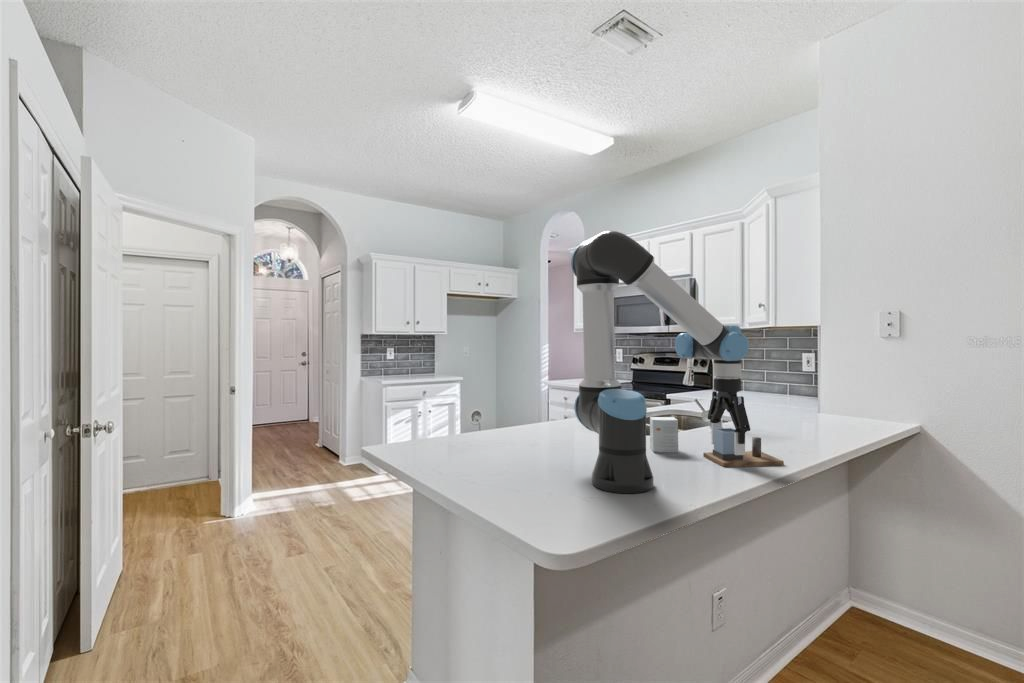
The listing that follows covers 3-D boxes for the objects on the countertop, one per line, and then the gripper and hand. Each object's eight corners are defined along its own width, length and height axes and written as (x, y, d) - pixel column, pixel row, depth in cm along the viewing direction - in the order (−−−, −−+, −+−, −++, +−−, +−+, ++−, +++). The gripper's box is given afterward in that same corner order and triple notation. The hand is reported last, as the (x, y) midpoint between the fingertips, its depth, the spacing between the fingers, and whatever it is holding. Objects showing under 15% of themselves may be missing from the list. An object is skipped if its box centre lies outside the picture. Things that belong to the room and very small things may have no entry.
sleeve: (743, 459, 143) (743, 432, 143) (722, 460, 143) (722, 432, 143) (732, 454, 149) (732, 427, 149) (712, 454, 149) (712, 428, 149)
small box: (674, 448, 163) (674, 416, 162) (678, 452, 157) (678, 419, 157) (649, 448, 163) (649, 416, 163) (652, 452, 158) (652, 419, 158)
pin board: (722, 466, 140) (722, 443, 140) (703, 456, 152) (703, 434, 152) (783, 465, 141) (783, 441, 141) (759, 454, 153) (759, 433, 153)
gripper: (764, 381, 134) (764, 459, 134) (718, 374, 159) (719, 439, 159) (737, 381, 133) (737, 460, 133) (696, 374, 158) (696, 440, 158)
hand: (727, 449), depth 146 cm, fingers open, 13 cm apart
